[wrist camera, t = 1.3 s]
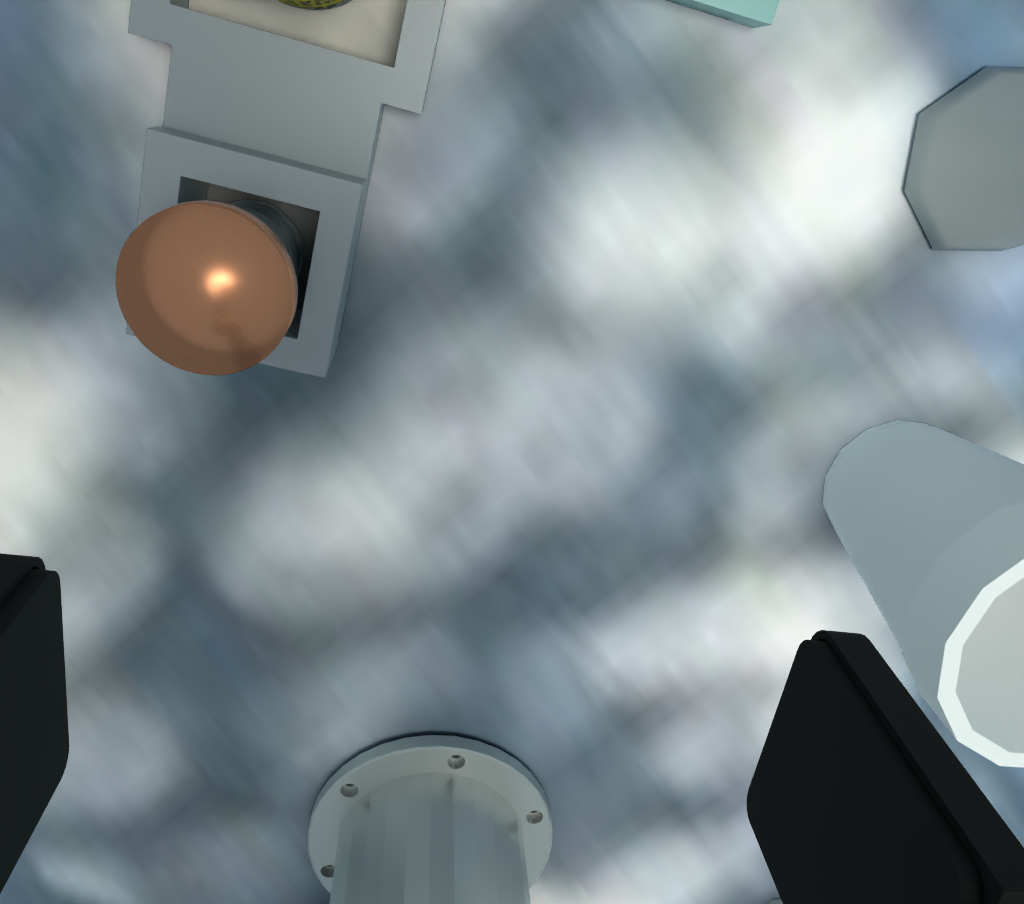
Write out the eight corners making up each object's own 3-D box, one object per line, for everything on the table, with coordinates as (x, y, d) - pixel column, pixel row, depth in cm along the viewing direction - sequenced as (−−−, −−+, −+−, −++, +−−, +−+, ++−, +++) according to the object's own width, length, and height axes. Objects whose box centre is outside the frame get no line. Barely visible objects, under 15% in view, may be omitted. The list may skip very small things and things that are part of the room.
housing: (371, 355, 36) (362, 386, 32) (122, 298, 34) (84, 324, 30) (487, -197, 29) (494, -238, 25) (181, -302, 27) (141, -361, 23)
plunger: (309, 331, 33) (278, 391, 27) (174, 300, 32) (107, 354, 26) (333, 199, 31) (306, 229, 25) (191, 163, 30) (124, 184, 24)
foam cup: (797, 396, 38) (961, 540, 26) (1003, 376, 38) (1259, 510, 26) (785, 583, 42) (923, 784, 30) (973, 563, 42) (1185, 754, 30)
